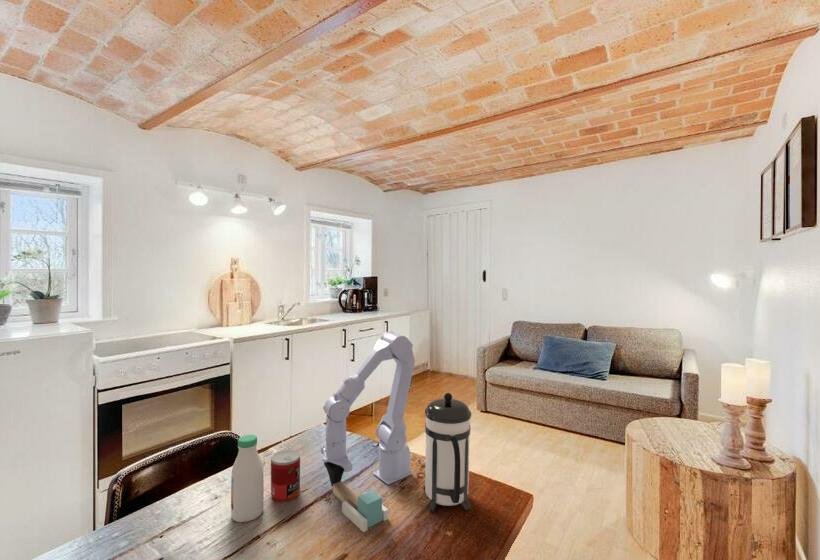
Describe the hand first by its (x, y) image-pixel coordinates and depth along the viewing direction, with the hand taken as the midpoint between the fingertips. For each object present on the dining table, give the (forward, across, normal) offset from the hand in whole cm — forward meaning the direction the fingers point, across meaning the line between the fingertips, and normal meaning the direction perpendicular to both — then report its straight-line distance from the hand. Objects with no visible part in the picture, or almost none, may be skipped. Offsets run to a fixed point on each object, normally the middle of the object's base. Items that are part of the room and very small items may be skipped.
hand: (335, 485), depth 110 cm
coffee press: (+1, +25, +21) cm, 33 cm away
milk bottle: (+1, -5, -23) cm, 24 cm away
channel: (+1, +15, 0) cm, 15 cm away
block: (+1, +17, 0) cm, 17 cm away
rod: (+1, +8, 0) cm, 8 cm away
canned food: (+1, -7, -12) cm, 14 cm away
